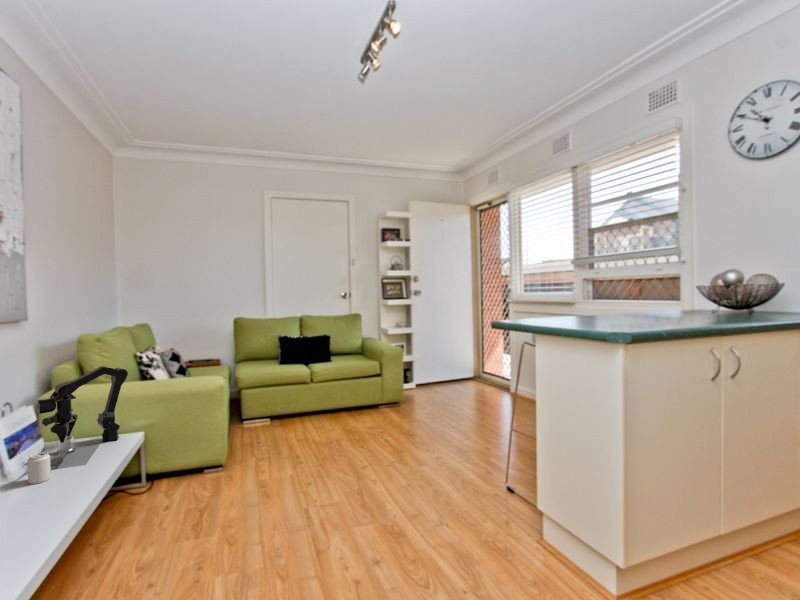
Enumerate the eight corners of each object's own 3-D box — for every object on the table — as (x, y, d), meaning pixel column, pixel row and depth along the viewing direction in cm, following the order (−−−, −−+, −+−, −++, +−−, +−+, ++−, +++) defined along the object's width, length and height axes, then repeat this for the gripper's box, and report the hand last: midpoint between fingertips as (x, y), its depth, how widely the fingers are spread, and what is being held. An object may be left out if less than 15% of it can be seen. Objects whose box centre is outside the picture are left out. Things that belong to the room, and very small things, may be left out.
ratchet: (77, 448, 213) (76, 439, 212) (60, 468, 190) (60, 458, 190) (60, 450, 210) (59, 442, 210) (41, 471, 188) (41, 461, 187)
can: (55, 477, 183) (54, 451, 182) (39, 485, 175) (38, 458, 175) (40, 476, 184) (39, 450, 183) (23, 484, 176) (22, 457, 175)
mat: (100, 443, 220) (100, 442, 220) (85, 465, 194) (85, 464, 194) (58, 449, 212) (58, 448, 212) (37, 472, 187) (37, 471, 187)
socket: (73, 445, 211) (73, 436, 211) (70, 449, 207) (70, 439, 206) (61, 447, 209) (61, 437, 209) (58, 451, 205) (57, 441, 204)
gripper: (50, 405, 212) (52, 435, 213) (36, 416, 195) (37, 449, 196) (77, 403, 217) (78, 432, 217) (65, 413, 200) (66, 445, 200)
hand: (65, 439), depth 208 cm, fingers open, 9 cm apart
